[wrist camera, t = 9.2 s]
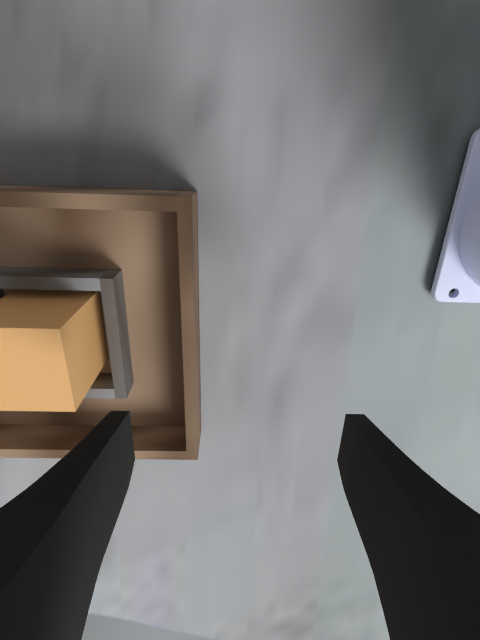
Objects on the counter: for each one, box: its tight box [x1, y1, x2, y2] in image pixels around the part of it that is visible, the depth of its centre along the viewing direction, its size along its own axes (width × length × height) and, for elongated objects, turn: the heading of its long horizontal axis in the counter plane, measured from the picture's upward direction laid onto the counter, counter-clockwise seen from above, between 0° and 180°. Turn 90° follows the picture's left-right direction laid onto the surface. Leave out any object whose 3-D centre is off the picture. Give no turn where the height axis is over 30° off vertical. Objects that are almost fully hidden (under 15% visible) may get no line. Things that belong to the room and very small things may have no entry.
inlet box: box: [0, 185, 201, 460], centre depth 19 cm, size 14×14×2 cm
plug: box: [0, 289, 108, 412], centre depth 17 cm, size 4×4×4 cm
